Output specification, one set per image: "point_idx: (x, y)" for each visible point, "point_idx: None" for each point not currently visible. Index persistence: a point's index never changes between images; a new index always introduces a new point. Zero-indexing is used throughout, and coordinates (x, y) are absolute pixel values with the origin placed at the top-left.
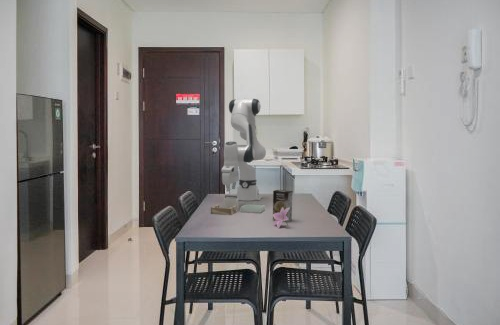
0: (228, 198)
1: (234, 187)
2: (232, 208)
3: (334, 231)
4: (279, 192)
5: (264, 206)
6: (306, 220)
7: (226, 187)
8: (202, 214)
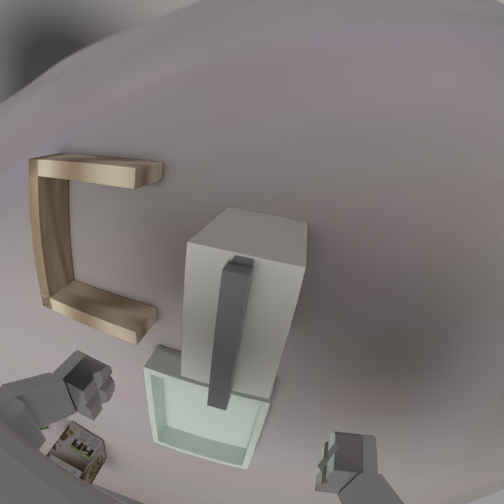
0: (196, 307)
1: (317, 475)
2: (70, 314)
3: None
4: None
5: (240, 463)
6: (117, 476)
7: (30, 381)
8: (34, 114)
